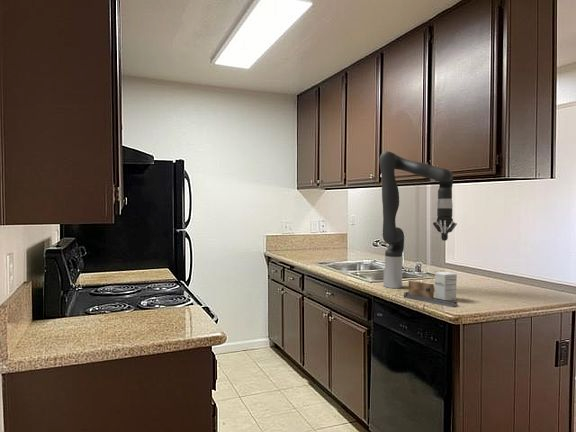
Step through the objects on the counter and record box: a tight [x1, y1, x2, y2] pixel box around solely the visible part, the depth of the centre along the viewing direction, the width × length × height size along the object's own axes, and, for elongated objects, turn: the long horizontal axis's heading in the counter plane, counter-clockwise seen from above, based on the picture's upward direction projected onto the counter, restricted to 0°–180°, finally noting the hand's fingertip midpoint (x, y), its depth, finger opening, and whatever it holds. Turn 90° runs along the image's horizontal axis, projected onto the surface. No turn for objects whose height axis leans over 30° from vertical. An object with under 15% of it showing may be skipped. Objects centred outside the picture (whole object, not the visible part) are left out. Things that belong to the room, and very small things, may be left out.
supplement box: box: [434, 271, 458, 301], centre depth 208 cm, size 7×7×13 cm
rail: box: [403, 290, 459, 308], centre depth 202 cm, size 26×4×2 cm, turn 40°
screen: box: [408, 280, 435, 299], centre depth 205 cm, size 13×2×7 cm, turn 40°
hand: (444, 240), depth 225 cm, fingers closed
